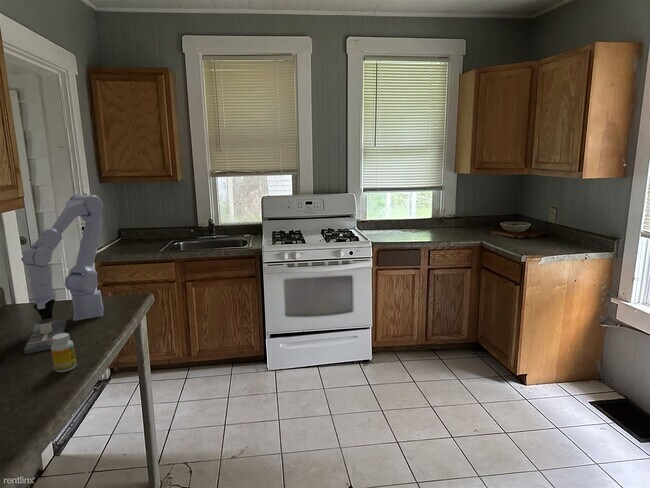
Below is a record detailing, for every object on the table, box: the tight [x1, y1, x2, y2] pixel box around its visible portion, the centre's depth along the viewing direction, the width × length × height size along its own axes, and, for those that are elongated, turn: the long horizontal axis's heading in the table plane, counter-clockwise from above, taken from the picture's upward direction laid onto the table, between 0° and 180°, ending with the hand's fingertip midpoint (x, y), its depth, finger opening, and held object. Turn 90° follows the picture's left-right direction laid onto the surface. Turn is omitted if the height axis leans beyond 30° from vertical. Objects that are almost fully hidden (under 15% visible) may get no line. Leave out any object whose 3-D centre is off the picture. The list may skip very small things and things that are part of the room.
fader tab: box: [37, 318, 52, 334], centre depth 141 cm, size 3×3×4 cm
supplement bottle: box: [50, 332, 78, 373], centre depth 120 cm, size 5×5×10 cm
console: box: [23, 318, 68, 355], centre depth 142 cm, size 9×22×3 cm, turn 25°
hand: (48, 322), depth 146 cm, fingers closed
